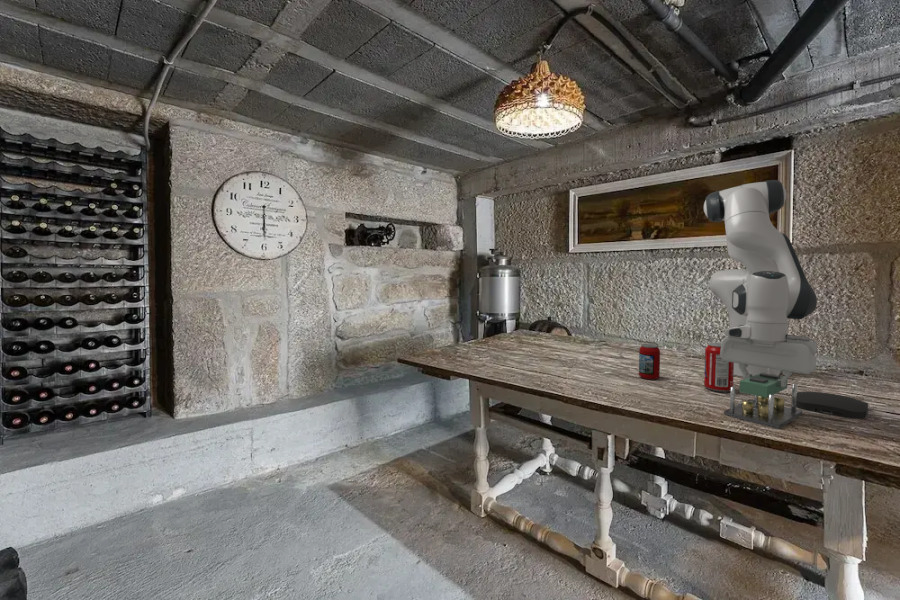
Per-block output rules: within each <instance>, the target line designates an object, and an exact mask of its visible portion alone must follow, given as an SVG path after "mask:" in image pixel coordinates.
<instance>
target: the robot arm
mask: <svg viewBox="0 0 900 600" xmlns="http://www.w3.org/2000/svg"><path fill="white" fill-rule="evenodd" d="M786 200H787V190H786V188H785V187H784V185H783V183H782V182H781V181H780V180H777V179H771V180H769V179H767V180H765V181H758V182H752V183H751V182H750V183H744V184H741V185H737V186H734V187H730V188H726V189H722V190H716V191H714V192H711V193H709V194H708V195H707V196H706V197H705V201H704V203H703V212H704V214H705V216H706V217H707V219H708V221H710V222H713V223H722V221H723V222H724V227H725V237H726V248H727V254H728V256H729V257H730V258H731V259H732V260H733V261H735V262H738V263H740V264H742V265H743V266H744V267H745V268H744V269H743V268H742V269H741V268H735V269H731V268H729V269H724V270H718V271H715V272H714V273H713V274H712V275H711V277H710V278H709V283H708V284H709V285H708V286H709V289H710V291H711V293H712V294H713V295H714V296H715V297H717V298H718V299H719V300H720V301H721V302H722V303H723V305H724V306H725V308H726V309H727V314H728V321H729V325H728V326H729V328H725V330H724V335H725V337H724V338H723V339H722V341H721V343H722V344H721V351H720V357H721V359H722V360H723V361H727V362H733V363H734V376H738V377H743V379H742V380H744V379H746V378H749V377H752V376H754V375H757V374H760V373H765V374H771V375H777V376H781V374H782V375H783V376H782V377H783V378H782V379H778V380H777V387H783V388H784V387H786V380H787V379H788V380H789V378H790V377H791V376H792V375H793V373H796V374H803V375H810V374H812V373H814V372H815V371H816V369H817V361H816V360H817V359H816V354H817V352H818V343H817V341H816V340H814V339H813V338H811V337H810V336H803V335H802V336H801V335H793V334H788V333H789V331H788V330H789V320H790V319H791V320H802V319H804V318H806V317H808V316H810V315H811V314H812V313H814V311H815V310H816V309H817V305H818V301H817V300H818V298H817V294H816V292H815V290H814V288H813V287H812V285H811V283H810V282H809V281H808V278H807V277H806V273H805V272H804V269H803V267H802V264H801V263H800V260H799V258H798V255H797V253H796V250H795V249H794V246H793V244H792V242H791V240H790V238H789V237H788V236H787V234H785V233H783V232H781V231H779V230H778V229H777V228H776V227H775V226H774V225H773V223H772V221H771V219H770V215H772V214H773V213H775V212H776V213H777V212H778V211H780V210H781V209H782V208H783V207H784V205H785V202H786ZM788 380H787V381H788Z"/></svg>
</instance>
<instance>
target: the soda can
mask: <svg viewBox="0 0 900 600" xmlns="http://www.w3.org/2000/svg"><path fill="white" fill-rule="evenodd" d="M721 344H722V342H709V343H707V346H706V347H705V349H704V371H703V372H704V374H703V376H704V377H703V379H704V380H703V385H704V387H705V388H706V389H708V390H709V391H712V390H713V391H712V392H716V391H719V392H718V393H728V392H731V387H734V376H735V375H734V363H733V362H727V361H723V360H722V359H721V357H720V351H721Z"/></svg>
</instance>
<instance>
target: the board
mask: <svg viewBox="0 0 900 600" xmlns="http://www.w3.org/2000/svg"><path fill="white" fill-rule="evenodd" d="M783 377H784V376H781V375H779V376H777V375H771V374H765V373H760V374H757V375H754V376H752V377H749V378H746V379H744V380H743V379H742V380H739V393H742V394H746V395H752V396H755V395H756V396H760V397H765V398H768V399H769V395H770V394H771V395H774V396H775V395H776V394H778V393H780V392H782V391H784V390H785V391H786V390H787V389H788V380H789V378H788V379H787V380H786V387H784V388H783V387H777V380H778V379H782V378H783Z"/></svg>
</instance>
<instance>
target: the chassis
mask: <svg viewBox="0 0 900 600" xmlns="http://www.w3.org/2000/svg"><path fill="white" fill-rule="evenodd" d="M729 392H730V394H729V408H728V409H725V410H724V411H723V415H724V414H725V415H724V416H726V415H729V416H728V417H730V416H732V418H734V419H739V420H742V419H743V421H746V422H750V423H755V424H758V425H762V426H765V427H770V428H773V429H776V430H780V429H781V428H783V427H784V425H785V426H786V425H788V424H790V423H791V422H792V420H793V421H794V420H796V419H798V418H799V417H800V415H801V416H802V415H803V409H801V410H800V409H797V407H796V401H797V392H798V383H796V382H795V383H792V384H791V404H790V405H791V406H790V407H787V406H785V397H780V396H775V394H774V395H771V394H770V395H769V397H768V398H765V397H760V396H756V395H754V399H751V398H749V399H745V400H742V401H741V402H740V403H738V404H737V405H735V403H736V387H735V386H733V387H731V391H729Z"/></svg>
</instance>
